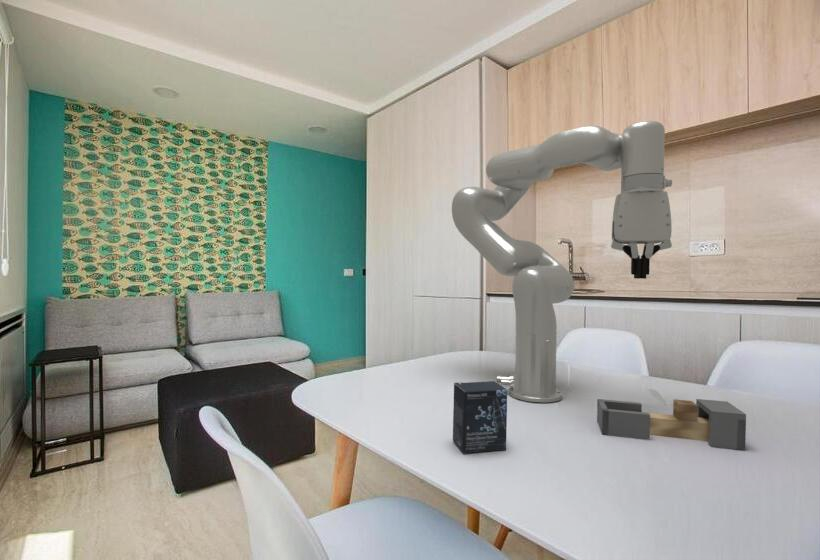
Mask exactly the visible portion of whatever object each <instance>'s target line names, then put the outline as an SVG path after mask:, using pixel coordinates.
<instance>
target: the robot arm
mask: <svg viewBox="0 0 820 560" xmlns="http://www.w3.org/2000/svg"><path fill="white" fill-rule="evenodd" d="M665 132H666V131H665V127H664V125H663V124H662V123H661V122H659V121H655V120H646V121H639V122H635V123H633V124H629V125H627V127H625V128H624V130H623V131H622V134H619V133H615V132H612V131H610V130H609V129H606V128H604V127H602V126H598V125H586V126H580V127H576V128H572V129H568V130H564V131H560V132H558V133H555V134H553V135H551V136H549V137H548V138H547V139H545V140H543V141H542V143H540V144H536V145H531V146H528V147H523V148H518V149H514V150H509V151H505V152H501V153H498V154H495V155H493V156H492V157H491V158H490V159H489V160H488V161H487V163H486V167H485V174H486V176H487V178H488V180H489V181H490V182H491V184H494V185H495V186H496V187H495V188H494V190H493V189H488V188H483V187H478V186H467V187H463V188H461V189H459V190H458V191H457V192H456V193H455V194H454V196H453V198H452V201H451V215H452V216H451V217H452V220H453V223H454V225H455V228H456V229H457V231H458V232H459V234H460V235H461V236H462V237H464V239H465V240H466V241H467V242H468V243H469V244H471V246H473V248H474V249H476V251H477V252H478V253H479V254H480V255H481V256H482V257H483V259H485V261H487V262H488V263H489V264H490V265H491V266H492V267H493V269H494V270H496V272H498V273H499V274H500V275H503V276H507V277H508V276H509V277H514V279H513V281H512V286H511V288H512V295H513V302H514V309H515V310H514V311H515V360H514V361H515V363H514V364H515V365H514V366H515V371H514V373H513V374H511V375H509V376H505V375H496V383H498V384H500V385H501V386H509V387H508V394H509V396H511V397H512V398H514V399H517V400H521V401H524V402H532V403H542V404H543V403H554V402H559V401H561V400H562V399H563V392H562V391H561V390H560V389H558V388H557V386H556V385H557V336H558V335H557V329H558V328H557V316H556V312H555V307H554V305H553V304H560V303H563V302H565V301H568V299H570V297H572V295H573V293H574V290H575V281H574V278H573V276H572V274H571V273H570V272H569V270H568V269H567V268H566V267H565V266H563V265H562V264H561V263H560V262H559V261H558V260H557V259H555V258H554V257H553V256H552V255H551V254H550V253H549V252H547V250H545V249H544V248H543V247H542V246H540V245H539V244H537V243H535V242H533V241H528V240H521V239H520V240H519V239H516V238H513V237H511V236H510V235H509V234H508V233H507V232H505V231H504V230H503V229H502V228H501V227H500V226H499V225H498V224H496V223H495V221H499V220H502V219H503V218H505V217H506V216H507V215H508V214H509V213H510V212H511V211H512V210H513V208H514V207H515V206H516V205H517V203H518V202H519V201H520V200H521V199H522V198H523V197H524V195H525V194H526V193H527V192H528V191H529V189H530V188H531V186H532V185H533V183H536V182H543V181H546V180H549V179H550V178H551V177H552V175H553V174H554V172H555V171H554V170H555V169H559V168H563V167H568V166H574V165H581V164H584V165H587V166H591V167H593V168H595V169H597V170H600V171H607V172H612V171H615V170H618V169H620V168H621V169H620V170H621V171H620V193H619V194H617V195H616V197H615V200H614V205H613V212H612V223H611V241H612V242H611V244H610V248H611V249H612V250H617V251H622V252H623V253H625V254H626V255H627V256H628V257H629V259H631V262H630V269H631V270H630V274H631V275H633V279H637V280H638V279H642V280H643V279H644V280H645V279H647V276H648V275H650V259H652V257H653V256H654V255H656V253H657V252H659V251H662V250H668V249H670V248H672V242H671V238H672V231H673V230H672V229H673V228H672V214H671V205H670V199H669V195H668V191H666V190H665V189H666V188H669V187H672V185H673V179H669V178H666V176H665V143H666V141H665V140H666V139H665V136H666V133H665ZM664 190H665V191H664ZM641 244H642V245H643V247H642V254H641V256H640V254H639V249H638V245H641Z"/></svg>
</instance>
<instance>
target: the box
mask: <svg viewBox="0 0 820 560" xmlns="http://www.w3.org/2000/svg"><path fill="white" fill-rule="evenodd" d="M452 413H453V415H452V416H453V417H452V441H453V442H454V444H455V445H456V447H457V448H458V449H459V451H460V452H461V453H462V454H463V455H465V454H469V453H470V454H471V453H472V454H473V453H481V452H493V451H506V449H507V426H508V425H507V417H508V389H507V388H506V387H504V385H501V384H500V383H497V381H495V380H490V381H472V382H471V381H470V382H454V383H453V412H452Z"/></svg>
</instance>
